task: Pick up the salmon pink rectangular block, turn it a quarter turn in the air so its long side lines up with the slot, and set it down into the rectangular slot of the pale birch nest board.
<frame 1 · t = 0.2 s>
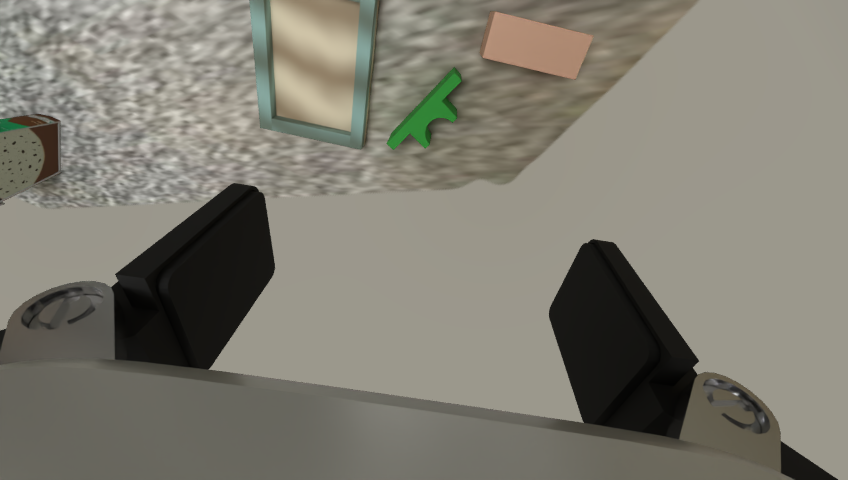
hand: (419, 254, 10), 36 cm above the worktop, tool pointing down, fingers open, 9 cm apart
food container: (38, 135, 48), on the worktop
salmon pink rectangular block: (527, 43, 37), on the worktop
pipe clamp: (430, 112, 42), on the worktop
nest board: (318, 63, 40), on the worktop
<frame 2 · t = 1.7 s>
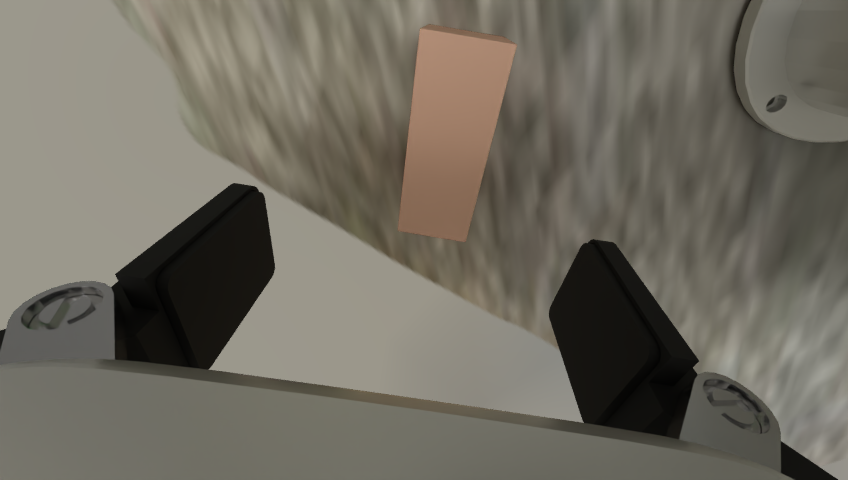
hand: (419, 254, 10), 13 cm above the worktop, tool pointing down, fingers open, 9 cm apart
salmon pink rectangular block: (449, 125, 20), on the worktop
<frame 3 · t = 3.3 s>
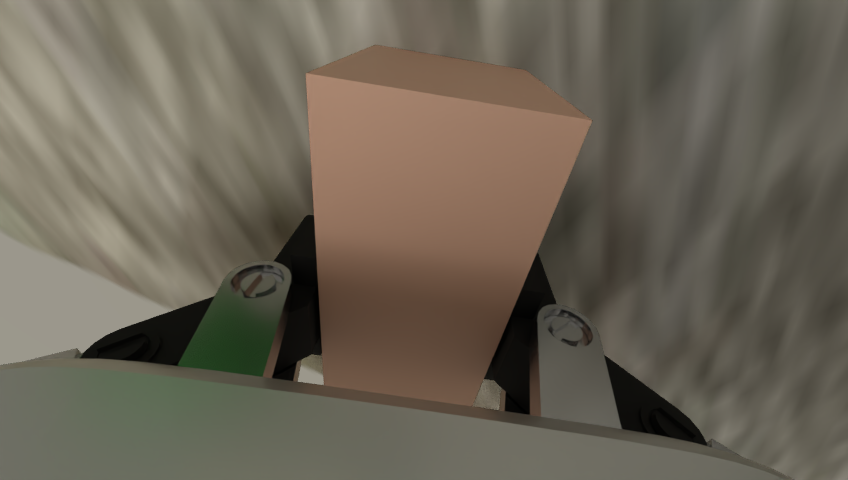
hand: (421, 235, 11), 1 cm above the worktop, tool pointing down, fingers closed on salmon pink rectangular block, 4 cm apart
salmon pink rectangular block: (424, 219, 11), on the worktop, touching gripper
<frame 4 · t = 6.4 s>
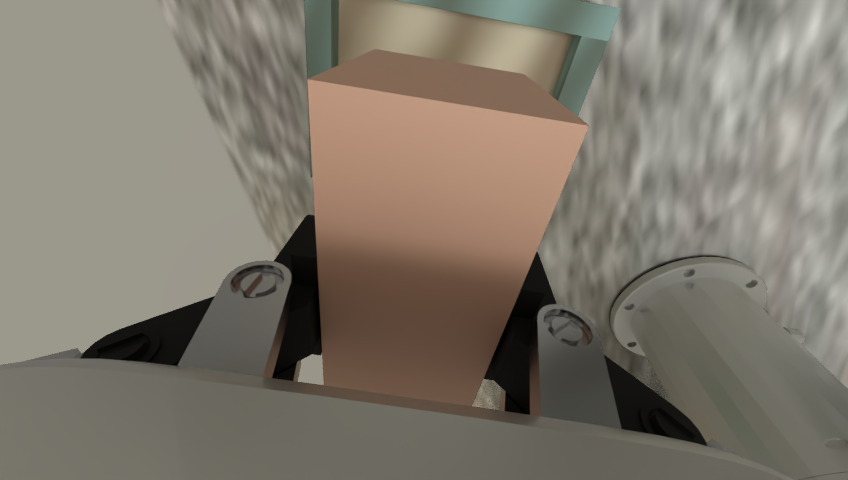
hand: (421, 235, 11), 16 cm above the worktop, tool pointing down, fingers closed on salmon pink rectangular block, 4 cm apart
salmon pink rectangular block: (423, 221, 12), point 15 cm above the worktop, touching gripper
nest board: (441, 98, 23), on the worktop
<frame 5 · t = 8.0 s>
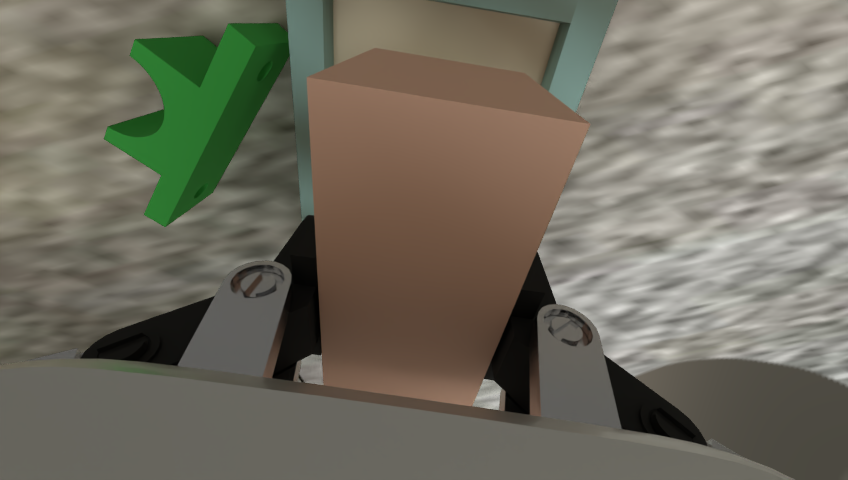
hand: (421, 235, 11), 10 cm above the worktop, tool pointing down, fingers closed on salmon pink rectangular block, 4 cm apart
salmon pink rectangular block: (423, 220, 12), point 9 cm above the worktop, touching gripper
pipe clamp: (224, 102, 18), on the worktop
nest board: (425, 152, 19), on the worktop
when the fingers open (3 cm above the worktop, at t = 9.5 s): salmon pink rectangular block stays where it is, resting on nest board.
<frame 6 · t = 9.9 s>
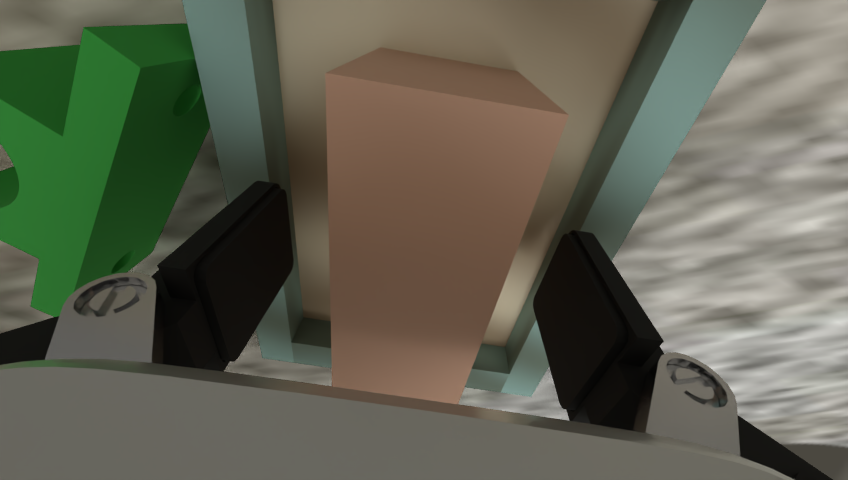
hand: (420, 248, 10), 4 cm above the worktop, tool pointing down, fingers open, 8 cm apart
salmon pink rectangular block: (424, 210, 12), point 1 cm above the worktop, touching nest board
pipe clamp: (152, 137, 13), on the worktop
nest board: (426, 196, 13), on the worktop
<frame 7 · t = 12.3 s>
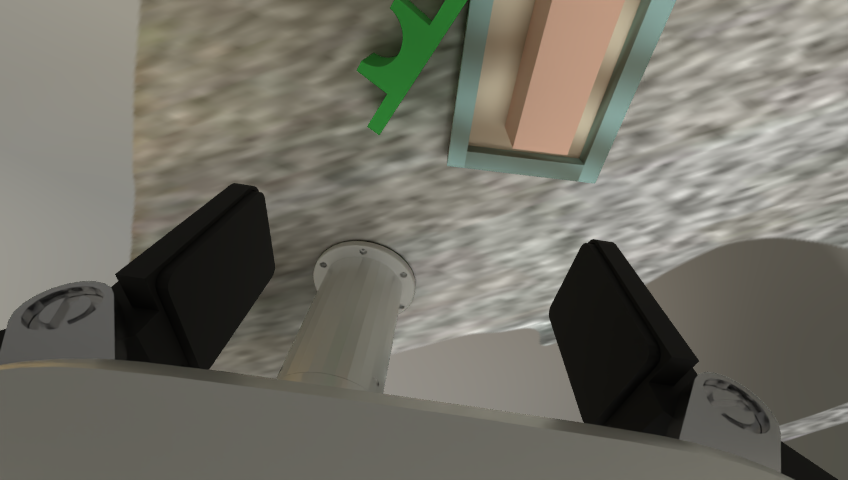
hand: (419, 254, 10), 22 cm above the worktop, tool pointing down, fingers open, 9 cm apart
salmon pink rectangular block: (546, 64, 25), point 1 cm above the worktop, touching nest board
pipe clamp: (408, 46, 26), on the worktop
nest board: (544, 61, 26), on the worktop
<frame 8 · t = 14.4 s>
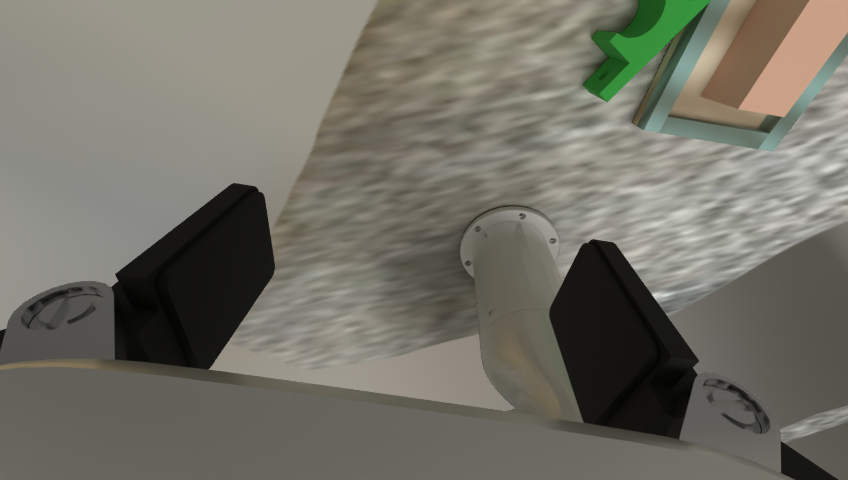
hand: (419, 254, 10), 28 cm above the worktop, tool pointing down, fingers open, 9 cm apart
salmon pink rectangular block: (758, 39, 29), point 1 cm above the worktop, touching nest board
pipe clamp: (629, 25, 30), on the worktop, touching nest board
nest board: (750, 38, 29), on the worktop
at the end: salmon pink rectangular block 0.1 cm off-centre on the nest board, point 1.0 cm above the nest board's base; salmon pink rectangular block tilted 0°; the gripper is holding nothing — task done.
